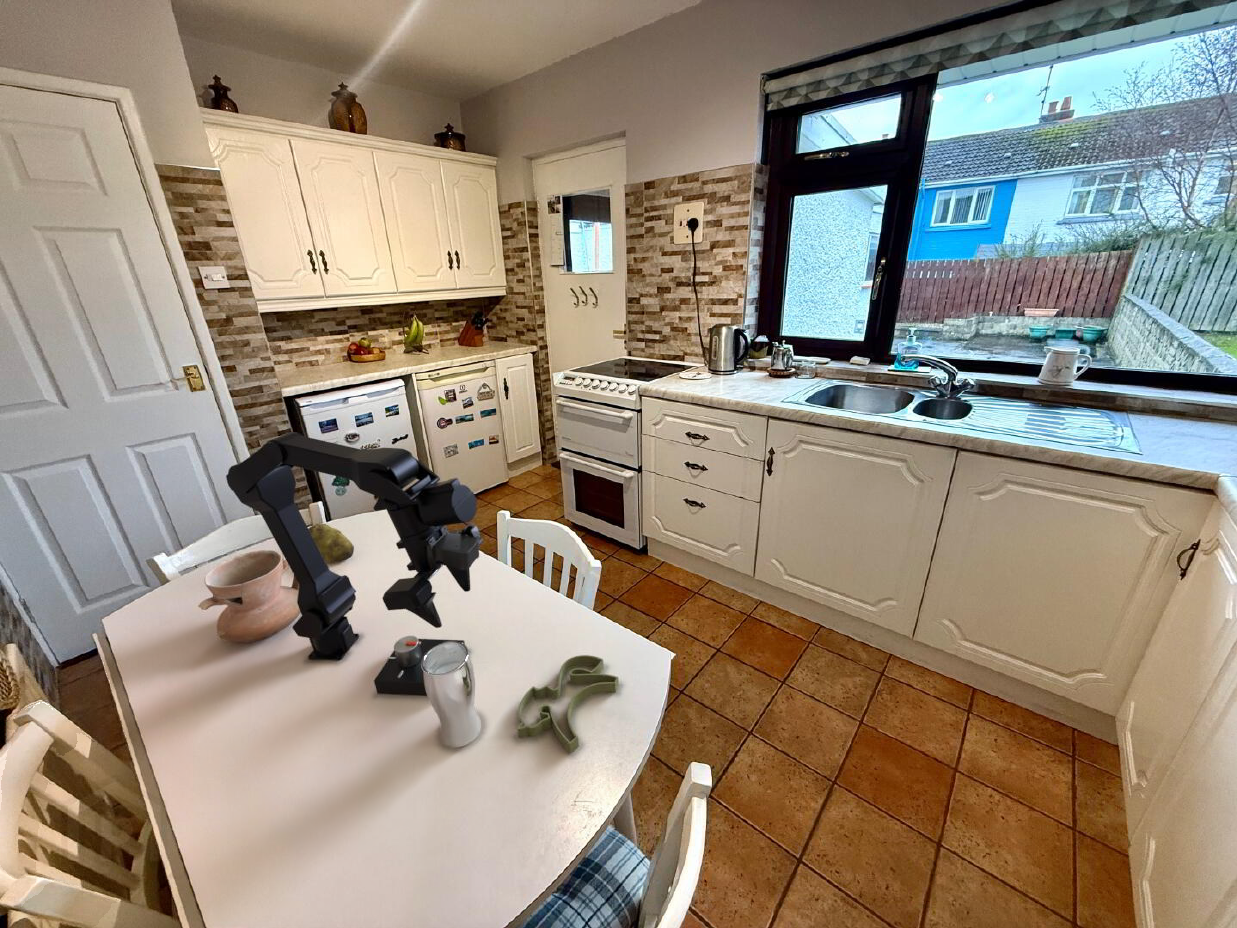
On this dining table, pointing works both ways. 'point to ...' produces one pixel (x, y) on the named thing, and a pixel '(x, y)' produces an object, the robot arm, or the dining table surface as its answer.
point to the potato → (331, 543)
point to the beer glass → (452, 692)
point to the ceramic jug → (252, 596)
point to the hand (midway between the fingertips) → (454, 608)
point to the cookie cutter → (576, 677)
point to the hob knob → (407, 651)
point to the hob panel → (405, 673)
